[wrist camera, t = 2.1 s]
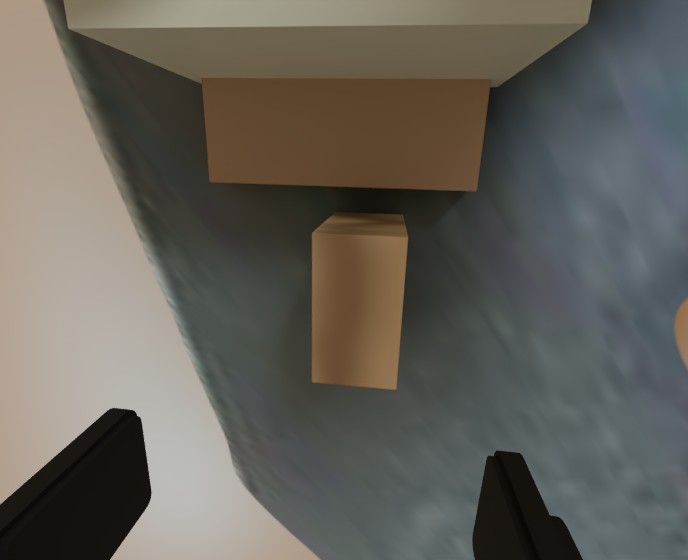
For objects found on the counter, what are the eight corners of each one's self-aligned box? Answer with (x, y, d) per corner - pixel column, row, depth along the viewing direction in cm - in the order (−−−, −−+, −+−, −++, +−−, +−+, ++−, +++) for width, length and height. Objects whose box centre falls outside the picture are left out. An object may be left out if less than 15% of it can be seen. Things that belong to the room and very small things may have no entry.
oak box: (402, 214, 28) (408, 237, 19) (394, 333, 31) (395, 398, 22) (335, 211, 29) (311, 232, 20) (333, 328, 31) (311, 390, 23)
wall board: (501, 52, 24) (600, -45, 13) (483, 189, 27) (552, 209, 15) (202, 53, 26) (58, -31, 15) (211, 180, 29) (95, 191, 17)
